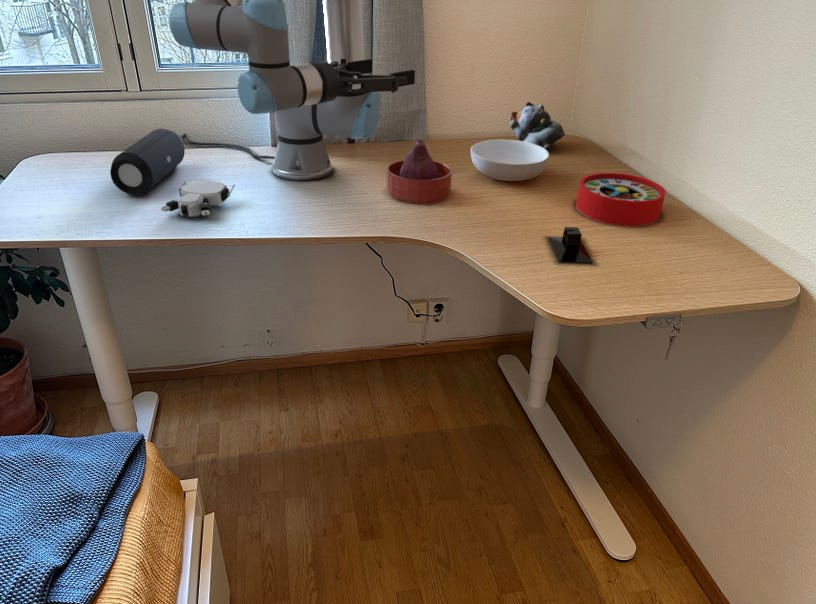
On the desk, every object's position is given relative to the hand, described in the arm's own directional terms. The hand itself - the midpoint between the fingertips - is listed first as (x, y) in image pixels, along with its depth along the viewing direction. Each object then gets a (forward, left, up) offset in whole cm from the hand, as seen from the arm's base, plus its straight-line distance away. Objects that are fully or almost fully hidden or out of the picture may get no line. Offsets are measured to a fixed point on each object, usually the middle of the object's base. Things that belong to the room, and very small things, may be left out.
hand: (391, 71), depth 143 cm
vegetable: (0, +10, -29) cm, 31 cm away
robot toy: (-24, -37, -30) cm, 53 cm away
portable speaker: (-48, -37, -30) cm, 68 cm away
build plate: (+45, +11, -30) cm, 55 cm away
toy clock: (+39, +40, -30) cm, 63 cm away
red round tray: (0, +10, -30) cm, 31 cm away
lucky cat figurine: (-6, +66, -30) cm, 72 cm away
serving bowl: (+6, +38, -30) cm, 48 cm away
